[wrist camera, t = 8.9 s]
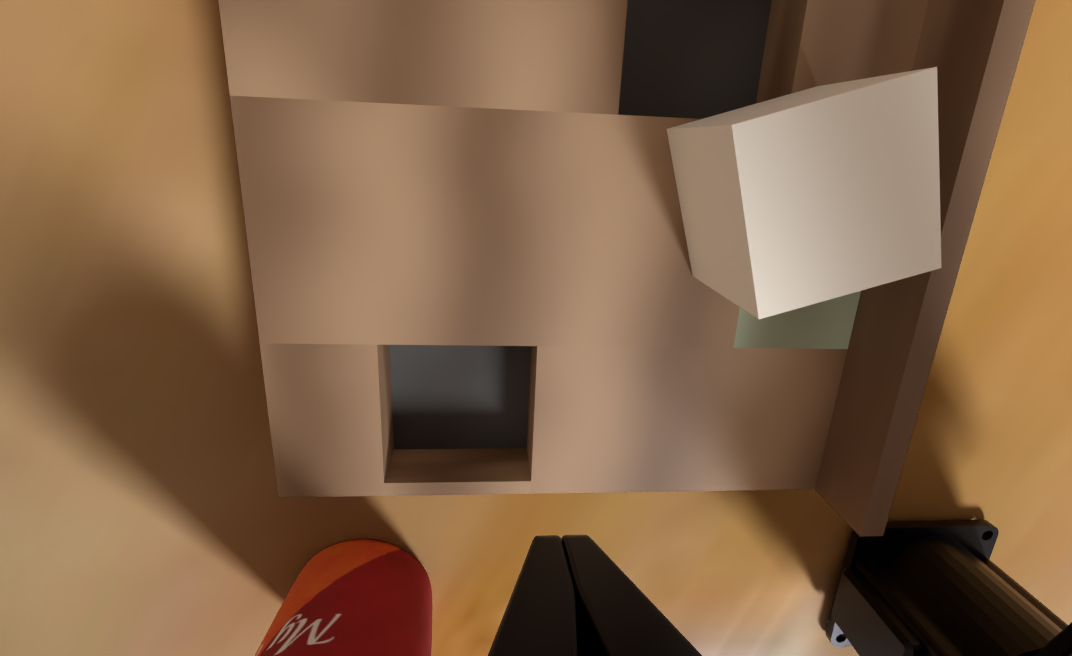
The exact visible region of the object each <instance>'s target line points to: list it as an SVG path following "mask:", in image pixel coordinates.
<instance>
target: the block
mask: <svg viewBox="0 0 1072 656" xmlns="http://www.w3.org/2000/svg"><path fill="white" fill-rule="evenodd" d="M667 134H668V140H669V146H670V151H671V157H672V163H673V168H674V174H675V179H676V185H677V191H678V196H679V202H680V208H681V213H682V219H683V225H684V230H685V236H686V241H687V247H688V253H689V258H690V264H691V270H692V275H693V277H695V278H696V279H698V280H699V281H701V282H702V283H704V284H705V285H707V286H708V287H710V288H712V289H713V290H715V291H716V292H718V293H719V294H721V295H722V296H724V297H725V298H727V299H728V300H730V301H731V302H733V303H734V304H736V305H737V306H739V307H741V308H742V309H744V310H745V311H747V312H748V313H750V314H751V315H753V316H754V317H756V318H757V319H762V318H766V317H770V316H773V315H777V314H780V313H784V312H787V311H791V310H794V309H798V308H801V307H805V306H808V305H812V304H816V303H819V302H823V301H826V300H830V299H833V298H837V297H840V296H844V295H847V294H851V293H854V292H858V291H862V290H865V289H869V288H872V287H876V286H879V285H883V284H886V283H890V282H893V281H897V280H901V279H904V278H908V277H911V276H915V275H918V274H922V273H925V272H929V271H932V270H936V269H939V268H942V267H941V221H940V175H939V130H938V84H937V67H932V68H926V69H920V70H914V71H908V72H902V73H895V74H889V75H883V76H877V77H871V78H865V79H858V80H852V81H846V82H840V83H834V84H828V85H822V86H816V87H813V88H809V89H806V90H802V91H799V92H795V93H792V94H788V95H785V96H781V97H778V98H774V99H771V100H767V101H764V102H760V103H756V104H753V105H749V106H746V107H742V108H739V109H735V110H732V111H728V112H725V113H721V114H718V115H714V116H711V117H707V118H704V119H700V120H697V121H693V122H690V123H686V124H683V125H679V126H676V127H672V128H668V129H667Z"/></svg>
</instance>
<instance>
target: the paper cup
mask: <svg viewBox="0 0 1072 656" xmlns="http://www.w3.org/2000/svg"><path fill="white" fill-rule="evenodd" d="M431 643H432V590H431V584H430V580H429V577H428V575H427V573H426V571H425V569H424V568H423V566H422V565H421V564H420V563H419V561H418V560H417V559H416V558H415V557H413V556H412V555H411V554H410V553H408V552H407V551H405V550H403V549H402V548H400V547H397V546H395V545H393V544H390V543H387V542H383V541H378V540H370V539H356V540H348V541H344V542H340V543H337V544H334V545H331V546H329V547H327V548H325V549H323V550H322V551H320V552H319V553H317V554H316V555H315V556H313V557H312V558H311V559H310V560H309V561H308V563H307V564H306V565H305V566H304V568H303V569H302V571H301V572H300V574H299V575H298V577H297V579H296V580H295V582H294V584H293V586H292V587H291V589H290V591H289V593H288V595H287V596H286V598H285V600H284V602H283V604H282V606H281V607H280V609H279V611H278V613H277V615H276V617H275V619H274V621H273V622H272V624H271V626H270V628H269V630H268V632H267V634H266V636H265V638H264V639H263V641H262V643H261V645H260V647H259V649H258V651H257V653H256V655H255V656H431Z"/></svg>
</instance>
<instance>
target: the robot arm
mask: <svg viewBox="0 0 1072 656" xmlns="http://www.w3.org/2000/svg"><path fill="white" fill-rule="evenodd" d="M997 536H998V529H997V528H996V527H995V526H993V525H992V524H991V523H989V522H988V521H986V520H958V521H912V522H887V524H886V527H885V531H884V534H883V536H859V535H858V534H857V533H856V532H855V531H854V530H853V531H852V534H851V538H850V542H849V545H848V549H847V553H846V557H845V561H844V564H843V568H842V572H841V576H840V580H839V583H838V587H837V591H836V595H835V599H834V602H833V606H832V610H831V614H830V618H829V621H828V625H827V629H826V636H827V638H828V639H829V640H830V642H831V643H832V645H834V646H837V647H844V646H853V647H854V649H855V650H856V651H857V653H858V654H859V656H1072V623H1070V624H1069V625H1067V624H1066V623H1065V622H1064V621H1062V620H1061V619H1060V618H1059V617H1058V616H1056V615H1055V614H1054V613H1053V612H1051V611H1050V610H1049V609H1048V608H1047V607H1045V606H1044V605H1043V604H1042V603H1041V602H1039V601H1038V600H1037V599H1036V598H1035V597H1033V596H1032V595H1031V594H1030V593H1029V592H1027V591H1026V590H1025V589H1024V588H1023V587H1021V586H1020V585H1019V584H1018V583H1017V582H1015V581H1014V580H1013V579H1012V578H1011V577H1009V576H1008V575H1007V574H1006V573H1005V572H1003V571H1002V570H1001V569H1000V568H999V567H997V566H996V565H995V564H994V563H993V562H991V561H990V560H989V558H990V556H991V553H992V550H993V547H994V545H995V542H996V539H997ZM488 656H702V655H701V654H700V653H699V652H698V651H697V650H696V649H695V648H694V647H693V646H692V645H691V643H690V642H689V641H688V640H687V639H686V638H685V637H684V636H683V635H682V634H681V633H680V632H679V631H678V630H677V629H676V628H675V627H674V626H673V624H672V623H671V622H670V621H669V620H668V619H667V618H666V617H665V616H664V615H663V614H662V613H661V612H660V611H659V610H658V609H657V608H656V607H655V605H654V604H653V603H652V602H651V601H650V600H649V599H648V598H647V597H646V596H645V595H644V594H643V593H642V592H641V591H640V590H639V589H638V588H637V586H636V585H635V584H634V583H633V582H632V581H631V580H630V579H629V578H628V577H627V576H626V575H625V574H624V573H623V572H622V571H621V570H620V569H619V567H618V566H617V565H616V564H615V563H614V562H613V561H612V560H611V559H610V558H609V557H608V556H607V555H606V554H605V553H604V552H603V551H602V550H601V548H600V547H599V546H598V545H597V544H596V543H595V542H594V541H593V540H592V539H591V538H590V537H589V536H587V535H564V536H563V537H562V539H561V538H560V537H559V536H557V535H550V536H536V537H535V538H534V539H533V541H532V544H531V546H530V549H529V552H528V554H527V557H526V559H525V562H524V564H523V567H522V569H521V572H520V575H519V577H518V580H517V582H516V585H515V587H514V590H513V593H512V595H511V598H510V600H509V603H508V605H507V608H506V611H505V613H504V616H503V618H502V621H501V623H500V626H499V628H498V631H497V634H496V636H495V639H494V641H493V644H492V646H491V649H490V652H489V654H488Z"/></svg>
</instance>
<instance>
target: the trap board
mask: <svg viewBox="0 0 1072 656" xmlns="http://www.w3.org/2000/svg"><path fill="white" fill-rule="evenodd" d="M218 2H219V10H220V18H221V27H222V35H223V43H224V52H225V60H226V68H227V76H228V85H229V93H230V101H231V110H232V118H233V126H234V135H235V143H236V151H237V159H238V168H239V176H240V184H241V193H242V201H243V209H244V218H245V226H246V234H247V242H248V251H249V259H250V267H251V276H252V284H253V292H254V301H255V309H256V317H257V325H258V334H259V342H260V350H261V359H262V367H263V375H264V384H265V392H266V400H267V409H268V417H269V425H270V433H271V442H272V450H273V458H274V467H275V475H276V483H277V492H278V497H341V496H406V495H471V494H536V493H602V492H667V491H732V490H797V489H815V490H816V491H817V492H818V493H819V494H820V495H821V496H822V497H823V498H824V499H825V500H826V501H827V502H828V503H829V504H830V505H831V506H832V508H833V509H834V510H835V511H836V512H837V513H838V514H839V515H840V516H841V517H842V518H843V519H844V520H845V521H846V522H847V523H848V524H849V526H850V527H851V528H852V529H853V530H854V531H855V532H856V533H857V534H858V535H859V536H883V534H884V531H885V527H886V524H887V520H888V517H889V513H890V510H891V506H892V503H893V499H894V496H895V492H896V489H897V485H898V482H899V478H900V475H901V471H902V468H903V464H904V461H905V457H906V454H907V450H908V447H909V443H910V439H911V436H912V432H913V429H914V425H915V422H916V418H917V415H918V411H919V408H920V404H921V401H922V397H923V394H924V390H925V387H926V383H927V380H928V376H929V373H930V369H931V366H932V362H933V359H934V355H935V352H936V348H937V345H938V341H939V338H940V334H941V331H942V327H943V324H944V320H945V317H946V313H947V310H948V306H949V302H950V299H951V295H952V292H953V288H954V285H955V281H956V278H957V274H958V271H959V267H960V264H961V260H962V257H963V253H964V250H965V246H966V243H967V239H968V236H969V232H970V229H971V225H972V222H973V218H974V215H975V211H976V208H977V204H978V201H979V197H980V194H981V190H982V187H983V183H984V180H985V176H986V173H987V169H988V166H989V162H990V158H991V155H992V151H993V148H994V144H995V141H996V137H997V134H998V130H999V127H1000V123H1001V120H1002V116H1003V113H1004V109H1005V106H1006V102H1007V99H1008V95H1009V92H1010V88H1011V85H1012V81H1013V78H1014V74H1015V71H1016V67H1017V64H1018V60H1019V57H1020V53H1021V50H1022V46H1023V43H1024V39H1025V36H1026V32H1027V29H1028V25H1029V21H1030V18H1031V14H1032V11H1033V7H1034V4H1035V0H218ZM932 67H937V84H938V130H939V175H940V221H941V267H942V268H939V269H936V270H932V271H929V272H925V273H922V274H918V275H915V276H911V277H908V278H904V279H901V280H897V281H893V282H890V283H886V284H883V285H879V286H876V287H872V288H869V289H865V290H862V291H858V292H854V293H851V294H847V295H844V296H840V297H837V298H833V299H830V300H826V301H823V302H819V303H816V304H812V305H808V306H805V307H801V308H798V309H794V310H791V311H787V312H784V313H780V314H777V315H773V316H770V317H766V318H762V319H757V318H756V317H754V316H753V315H751V314H750V313H748V312H747V311H745V310H744V309H742V308H741V307H739V306H737V305H736V304H734V303H733V302H731V301H730V300H728V299H727V298H725V297H724V296H722V295H721V294H719V293H718V292H716V291H715V290H713V289H712V288H710V287H708V286H707V285H705V284H704V283H702V282H701V281H699V280H698V279H696V278H695V277H693V275H692V270H691V264H690V258H689V253H688V247H687V241H686V236H685V230H684V225H683V219H682V213H681V208H680V202H679V196H678V191H677V185H676V179H675V174H674V168H673V163H672V157H671V151H670V146H669V140H668V134H667V129H668V128H672V127H676V126H679V125H683V124H686V123H690V122H693V121H697V120H700V119H704V118H707V117H711V116H714V115H718V114H721V113H725V112H728V111H732V110H735V109H739V108H742V107H746V106H749V105H753V104H756V103H760V102H764V101H767V100H771V99H774V98H778V97H781V96H785V95H788V94H792V93H795V92H799V91H802V90H806V89H809V88H813V87H816V86H822V85H828V84H834V83H840V82H846V81H852V80H858V79H865V78H871V77H877V76H883V75H889V74H895V73H902V72H908V71H914V70H920V69H926V68H932Z"/></svg>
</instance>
